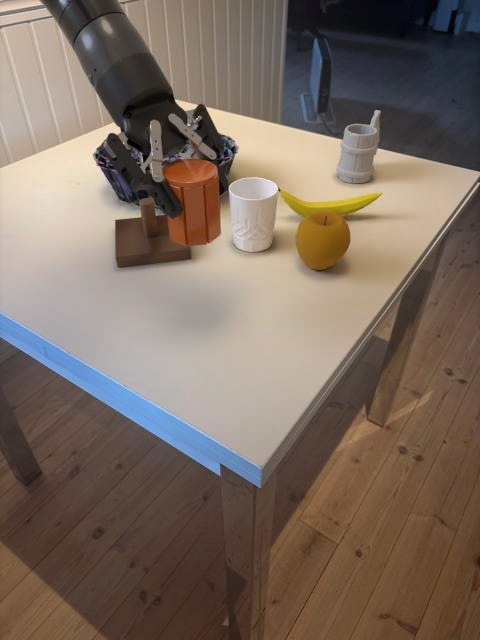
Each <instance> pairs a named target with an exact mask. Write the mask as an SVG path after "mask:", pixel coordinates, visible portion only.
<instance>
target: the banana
mask: <svg viewBox="0 0 480 640" xmlns="http://www.w3.org/2000/svg"><path fill="white" fill-rule="evenodd" d="M278 193H279V194H280V196H281V198H282V200H283V201H284V202H285V204H286V205H287V206H288V207H289V209H291V210H292V211H293V212H294V213H295V214H297V215H298V216H299V217H300V216H301V217H303V218H305V217H306V216H307V215H309V214H312V213H315V212H320V211H327V212H333V213H336V214H338V215H340V216H342V217H345V216H348V215H351V214H354V213H356V212H358V211H361V210H363V209H365V208H366V207H368V206H369V205H372V204H373V203H374V202H375V201H376V200H378V199H379V198H380V197H381V196H382V195H383V192H373V193H367V194H363V195H358V196H354V197H350V198H344V199H337V200H330V201H306V200H303V199H300V198H298V197H297V196H295V195H293V194H291V193H289V192H288V191H286V190H283V189H281V188H280V187H279V186H278Z"/></svg>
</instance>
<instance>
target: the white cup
mask: <svg viewBox="0 0 480 640" xmlns="http://www.w3.org/2000/svg"><path fill="white" fill-rule="evenodd" d="M228 186H229V190H228V197H229V212H230V213H229V214H230V222H231V229H232V241H233V244H234V245H235V247H236V248H237V249H239V250H241V251H243V252H247V253H258V252H263V251H265V250H267V249H269V248H270V247H271V246H272V244H273V239H274V230H275V224H276V218H277V207H278V197H279V191H278V187H279V186H278V185H277V183H276V182H274V181H272V180H270V179H268V178H263V177H258V176H257V177H255V176H254V177H253V176H252V177H243V178H239V179H237V180H235V181H233V182H232V183H230V184H229V185H228Z"/></svg>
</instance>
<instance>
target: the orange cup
mask: <svg viewBox="0 0 480 640" xmlns="http://www.w3.org/2000/svg"><path fill="white" fill-rule="evenodd" d="M162 173H163V182H164V181H167V182H168V184H169V186H170V187H171V189H172V191H173V192H174V194H175V196H176V197H177V199H178V201H179V202H180V204H181V206H182V208H183V212H182V213H181V214H180V215H179V216H178V217H176V218H174V219H171V218H170V217H169V215H168V216H167V221H168V229H169V236H170V239H171V240H172V241H174V242H176V243H179V244H182V245H184V246H187V245H188V246H190V247H197V246H205V245H208V244H211V243H212V242H214V241H215V240H216V239H218V238H219V237H220V236H221V234H222V226H221V225H222V223H221V201H220V197H221V196H219V176H218V170H217V167H216V165H215V164H213V163H212V162H209V161H207V160H202V159H182V160H177V161H174V162H171V163H169V164H167V165H166V166H165V167H164V168H163V169H162Z"/></svg>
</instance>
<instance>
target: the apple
mask: <svg viewBox="0 0 480 640" xmlns="http://www.w3.org/2000/svg"><path fill="white" fill-rule="evenodd" d="M350 244H351V230H350V226H349V224H348V223H347V221H346V219H345V217H344V216H340V215H338V214H336V213H333V212H327V211H320V212H315V213H312V214H309V215H307V216H306V217H303V218H302V219H301V220H300V222H299V224H298V226H297V230H296V233H295V246H296V248H295V249H296V250H297V253H298V256H299V258H300V260H301V261H302V262H303V264H304V265H305V266H306V267H307V268H309V269H311V270H314V271H322V270H326V269H329V268H330V267H332V266H334V265H335V264H337V263H338V262H339V260H341V259H342V258H343V257H344V255H345V254H347V252H348V250H349V248H350Z"/></svg>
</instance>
